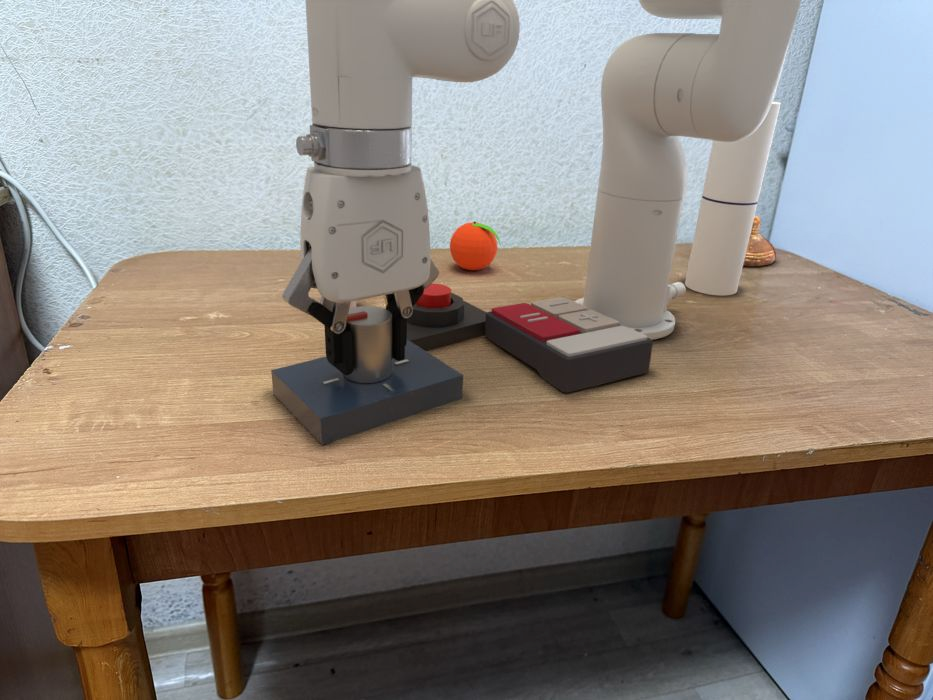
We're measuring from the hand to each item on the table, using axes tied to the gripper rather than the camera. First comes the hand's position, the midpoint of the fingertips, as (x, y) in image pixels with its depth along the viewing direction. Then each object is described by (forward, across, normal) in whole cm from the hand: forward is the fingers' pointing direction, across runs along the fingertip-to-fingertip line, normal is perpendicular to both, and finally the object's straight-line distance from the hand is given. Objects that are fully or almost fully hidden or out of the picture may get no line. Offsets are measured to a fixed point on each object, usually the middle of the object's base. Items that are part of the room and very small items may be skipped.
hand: (367, 359), depth 57 cm
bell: (+4, +75, +9) cm, 76 cm away
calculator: (+4, +22, -3) cm, 23 cm away
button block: (+4, +14, +10) cm, 18 cm away
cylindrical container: (+4, +57, +2) cm, 57 cm away
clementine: (+4, +32, +25) cm, 41 cm away
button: (+1, +14, +10) cm, 17 cm away
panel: (+4, 0, 0) cm, 4 cm away
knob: (+1, 0, 0) cm, 1 cm away
